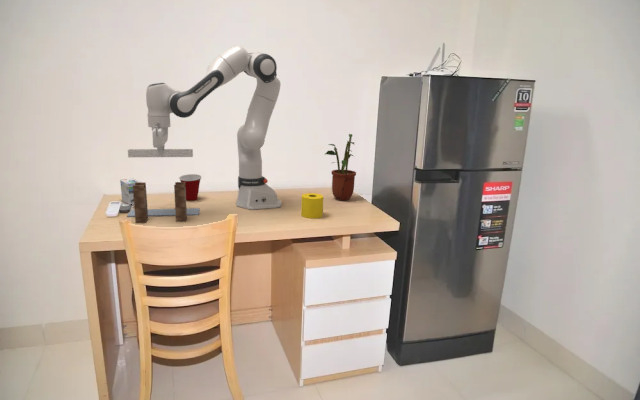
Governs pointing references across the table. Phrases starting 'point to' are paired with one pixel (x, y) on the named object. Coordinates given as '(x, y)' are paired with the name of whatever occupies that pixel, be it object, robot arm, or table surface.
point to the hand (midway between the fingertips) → (161, 155)
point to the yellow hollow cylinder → (312, 205)
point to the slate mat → (165, 212)
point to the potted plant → (343, 175)
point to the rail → (165, 153)
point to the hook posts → (141, 202)
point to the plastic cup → (191, 185)
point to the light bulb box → (128, 190)
